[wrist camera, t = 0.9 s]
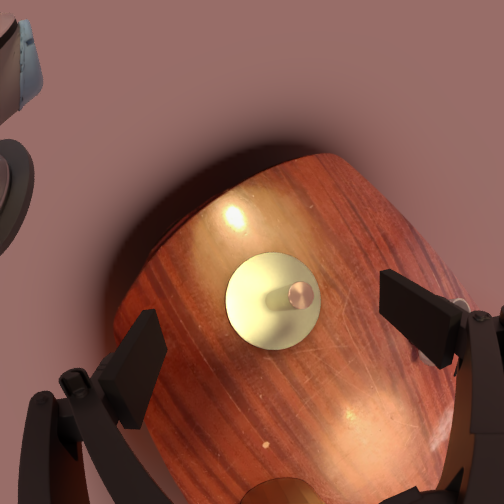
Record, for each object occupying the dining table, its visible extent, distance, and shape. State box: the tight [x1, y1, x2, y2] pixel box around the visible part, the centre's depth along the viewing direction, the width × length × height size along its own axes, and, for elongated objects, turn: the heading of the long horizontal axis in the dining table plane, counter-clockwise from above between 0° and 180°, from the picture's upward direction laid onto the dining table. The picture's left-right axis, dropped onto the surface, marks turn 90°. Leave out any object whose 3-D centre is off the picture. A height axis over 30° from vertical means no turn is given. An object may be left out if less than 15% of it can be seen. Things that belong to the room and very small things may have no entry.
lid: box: [225, 252, 321, 350], centre depth 30 cm, size 12×12×10 cm
